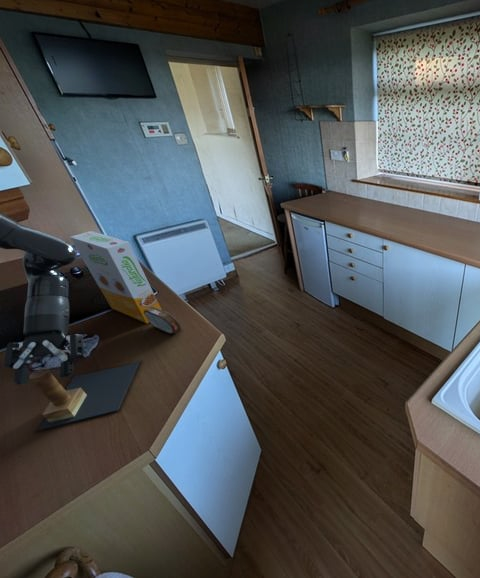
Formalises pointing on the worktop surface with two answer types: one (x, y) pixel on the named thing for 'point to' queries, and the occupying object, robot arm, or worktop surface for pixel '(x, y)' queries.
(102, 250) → the cereal box
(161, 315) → the tin
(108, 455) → the worktop surface
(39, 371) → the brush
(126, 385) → the mat
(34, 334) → the robot arm
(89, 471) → the worktop surface
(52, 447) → the worktop surface
